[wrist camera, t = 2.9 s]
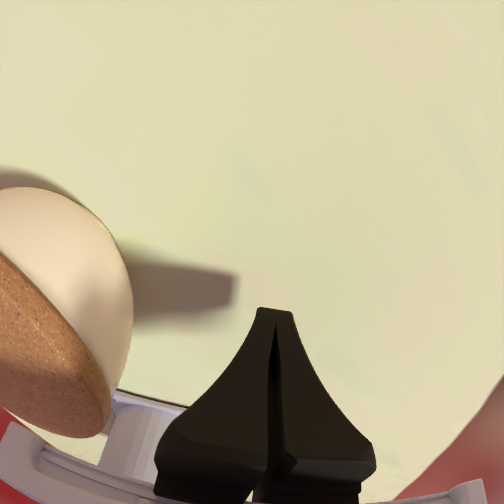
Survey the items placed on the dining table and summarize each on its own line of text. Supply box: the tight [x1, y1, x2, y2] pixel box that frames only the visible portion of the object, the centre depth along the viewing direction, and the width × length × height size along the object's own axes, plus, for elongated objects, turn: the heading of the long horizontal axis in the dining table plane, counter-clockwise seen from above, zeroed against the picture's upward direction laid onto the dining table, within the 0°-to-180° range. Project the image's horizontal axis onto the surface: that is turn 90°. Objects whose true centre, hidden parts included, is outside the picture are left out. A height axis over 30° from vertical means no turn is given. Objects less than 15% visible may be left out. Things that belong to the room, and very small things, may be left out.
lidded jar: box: [0, 187, 134, 438], centre depth 11 cm, size 11×11×9 cm
